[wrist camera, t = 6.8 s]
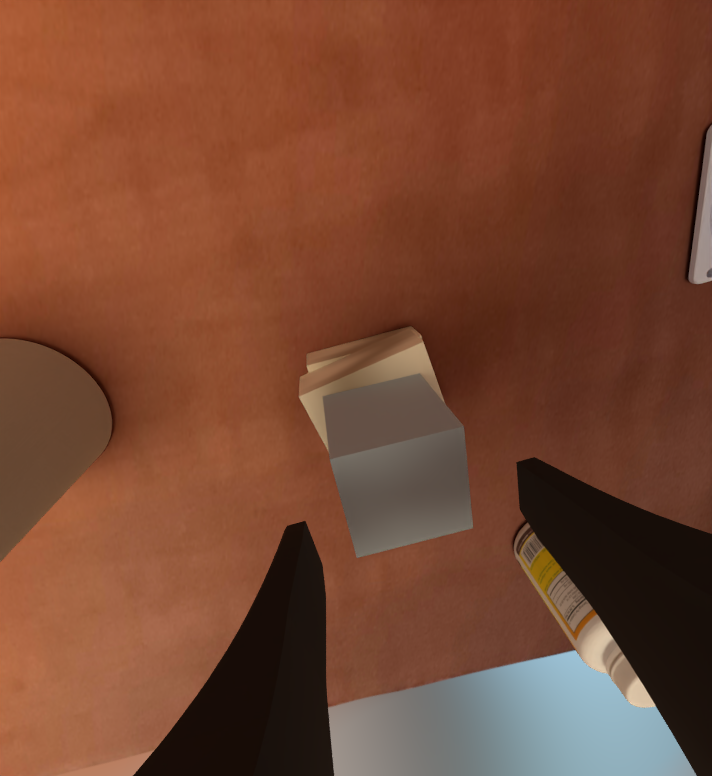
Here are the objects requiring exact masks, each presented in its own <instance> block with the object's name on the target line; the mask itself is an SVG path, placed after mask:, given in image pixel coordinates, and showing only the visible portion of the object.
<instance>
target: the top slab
mask: <svg viewBox="0 0 712 776" xmlns="http://www.w3.org/2000/svg"><path fill="white" fill-rule="evenodd" d="M419 373H420V374H421V375H422V377H423V378H424V379H425V380H426V381H427V383H428V384H429V385H430V386H431V387H432V389H433V390H434V391H435V392H436V393H437V395H438V396H439V397H440V398H441V399H442V401H443V402H444V399H443V396H442V393H441V390H440V388H439V385H438V382H437V379H436V376H435V373H434V371H433V368H432V365H431V362H430V359H429V356H428V354H427V351H426V348H425V345H424V342H423V341H422V340H421V339H420V338H419V337H418V336H417V335H415V334H414V333H413V332H412V331H411V330H410V329H406V330H404V331H402V332H400V333H397V334H395V335H393V336H391V337H388V338H386V339H384V340H382V341H379V342H377V343H375V344H373V345H370V346H368V347H366V348H364V349H361V350H359V351H357V352H355V353H352V354H350V355H348V356H346V357H343V358H341V359H339V360H337V361H334V362H332V363H330V364H328V365H325V366H323V367H321V368H319V369H316V370H314V371H312V372H310V373H307V374H305V375H303V376H301V377H300V383H299V398H300V400H301V402H302V404H303V406H304V407H305V409H306V411H307V413H308V415H309V417H310V418H311V420H312V422H313V424H314V426H315V428H316V429H317V431H318V433H319V435H320V437H321V439H322V440H323V442H324V444H325V446H326V448H327V450H328V451H329V448H328V439H327V431H326V422H325V413H324V404H323V396H326V395H331V394H335V393H339V392H343V391H347V390H352V389H356V388H360V387H364V386H368V385H372V384H377V383H381V382H385V381H389V380H393V379H398V378H402V377H406V376H410V375H414V374H419ZM444 403H445V402H444Z"/></svg>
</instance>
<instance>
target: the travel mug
mask: <svg viewBox="0 0 712 776" xmlns="http://www.w3.org/2000/svg"><path fill="white" fill-rule="evenodd" d="M111 431H112V416H111V411H110V407H109V404H108V402H107V399H106V397H105V395H104V393H103V392H102V390H101V389H100V387H99V386H98V384H97V383H96V382H95V380H94V379H93V378H92V377H91V376H90V375H89V374H88V373H87V372H86V371H85V370H84V369H83V368H81V367H80V366H79V365H78V364H77V363H75V362H74V361H72V360H71V359H69V358H68V357H66V356H64V355H63V354H61V353H59V352H57V351H55V350H53V349H50V348H48V347H45V346H43V345H40V344H37V343H33V342H29V341H24V340H18V339H7V338H6V339H0V562H1V561H2V560H3V559H4V558H5V556H6V555H7V554H8V553H9V552H10V551H11V550H12V549H13V548H14V547H15V546H16V545H17V544H18V543H19V542H20V540H21V539H22V538H23V537H24V536H25V535H26V534H27V533H28V532H29V531H30V530H31V529H32V528H33V527H34V525H35V524H36V523H37V522H38V521H39V520H40V519H41V518H42V517H43V516H44V515H45V514H46V513H47V512H48V510H49V509H50V508H51V507H52V506H53V505H54V504H55V503H56V502H57V501H58V500H59V499H60V498H61V497H62V495H63V494H64V493H65V492H66V491H67V490H68V489H69V488H70V487H71V486H72V485H73V484H74V483H75V482H76V480H77V479H78V478H79V477H80V476H81V475H82V474H83V473H84V472H85V471H86V470H87V469H88V468H89V467H90V465H91V464H92V463H93V462H94V461H95V460H96V459H97V458H98V457H99V456H100V455H101V454H102V452H103V451H104V450H105V448H106V446H107V444H108V442H109V439H110V436H111Z"/></svg>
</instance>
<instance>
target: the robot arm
mask: <svg viewBox="0 0 712 776" xmlns="http://www.w3.org/2000/svg"><path fill="white" fill-rule="evenodd" d="M707 272H708V274H707ZM688 277H689V281H690V282H691V283H694V284H702V283H705V282H709V281H712V125H711V126H710V128H709V129H708V132H707V136H706V144H705V152H704V159H703V167H702V175H701V183H700V191H699V198H698V206H697V214H696V222H695V230H694V237H693V245H692V253H691V261H690V269H689V276H688ZM517 475H518V489H519V504H520V510H521V512H522V514H523V515H524V517H525V519H526V520H527V522H528V524H529V525H530V527H531V528H532V530H533V532H534V533H535V535H536V536H537V538H538V539H539V540H540V542H541V543H542V544H543V546H544V547H545V548H546V549H547V551H548V552H549V553H550V554H551V556H552V557H553V558H554V560H555V561H556V562H557V563H558V565H559V566H560V567H561V568H562V570H563V571H564V572H565V573H566V575H567V576H568V577H569V578H570V580H571V581H572V582H573V583H574V585H575V586H576V587H577V589H578V590H579V591H580V592H581V594H582V595H583V596H584V597H585V599H586V600H587V601H588V603H589V604H590V605H591V607H592V608H593V609H594V611H595V612H596V613H597V615H598V616H599V618H600V619H601V621H602V622H603V624H604V625H605V627H606V628H607V630H608V631H609V633H610V634H611V636H612V637H613V639H614V640H615V642H616V643H617V645H618V646H619V648H620V650H621V651H622V653H623V654H624V656H625V657H626V659H627V661H628V662H629V664H630V665H631V667H632V668H633V670H634V672H635V673H636V675H637V676H638V678H639V679H640V681H641V683H642V684H643V686H644V687H645V689H646V691H647V692H648V694H649V696H650V697H651V699H652V701H653V702H654V704H655V705H656V707H657V709H658V710H659V712H660V714H661V715H662V717H663V719H664V720H665V722H666V724H667V725H668V727H669V729H670V730H671V732H672V733H673V735H674V737H675V739H676V740H677V742H678V744H679V746H680V747H681V749H682V751H683V752H684V754H685V756H686V758H687V759H688V761H689V763H690V765H691V766H692V768H693V770H694V772H695V773H696V775H697V776H712V534H710V533H707V532H704V531H701V530H698V529H695V528H692V527H689V526H686V525H683V524H680V523H677V522H675V521H672V520H669V519H667V518H664V517H661V516H658V515H656V514H653V513H651V512H648V511H646V510H643V509H641V508H638V507H636V506H634V505H632V504H629V503H627V502H625V501H622V500H620V499H618V498H615V497H613V496H611V495H609V494H607V493H605V492H603V491H600V490H598V489H596V488H594V487H592V486H590V485H588V484H586V483H584V482H582V481H580V480H578V479H576V478H574V477H572V476H570V475H568V474H566V473H564V472H562V471H560V470H558V469H557V468H555V467H553V466H551V465H549V464H547V463H545V462H543V461H541V460H539V459H537V458H535V457H534V458H530V459H526V460H523V461H519V462H517ZM133 776H334V770H333V759H332V749H331V739H330V727H329V715H328V703H327V688H326V593H325V583H324V575H323V566H322V562H321V560H320V557H319V555H318V552H317V550H316V547H315V544H314V542H313V539H312V537H311V534H310V532H309V529H308V526H307V524H306V521H303V522H300V523H296V524H292V525H289V526H287V527H286V529H285V531H284V534H283V536H282V539H281V541H280V544H279V547H278V549H277V552H276V554H275V556H274V559H273V561H272V564H271V566H270V568H269V570H268V573H267V575H266V577H265V579H264V582H263V584H262V586H261V588H260V590H259V592H258V594H257V596H256V598H255V600H254V602H253V604H252V606H251V608H250V610H249V612H248V614H247V616H246V618H245V620H244V622H243V623H242V625H241V627H240V629H239V631H238V632H237V634H236V636H235V637H234V639H233V641H232V642H231V644H230V646H229V648H228V649H227V651H226V652H225V654H224V656H223V657H222V659H221V660H220V662H219V663H218V665H217V666H216V668H215V669H214V671H213V673H212V674H211V676H210V677H209V679H208V680H207V682H206V683H205V685H204V686H203V687H202V689H201V690H200V692H199V693H198V695H197V696H196V697H195V699H194V700H193V701H192V703H191V704H190V705H189V707H188V708H187V709H186V711H185V712H184V713H183V715H182V716H181V717H180V719H179V720H178V721H177V723H176V724H175V725H174V727H173V728H172V729H171V731H170V732H169V733H168V735H167V736H166V737H165V738H164V740H163V741H162V742H161V743H160V745H159V746H158V747H157V748H156V749H155V751H154V752H153V753H152V754H151V755H150V756H149V758H148V759H147V760H146V761H145V762H144V764H143V765H142V766H141V767H140V768H139V769H138V771H137V772H136V773H135V774H134V775H133Z"/></svg>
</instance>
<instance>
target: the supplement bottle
mask: <svg viewBox="0 0 712 776" xmlns="http://www.w3.org/2000/svg"><path fill="white" fill-rule="evenodd" d="M514 553H515V557H516V559H517V561H518V562H519V564H520V566H521V567H522V569H523V570H524V572H525V573H526V575H527V576H528V578H529V579H530V581H531V582H532V584H533V585H534V587H535V588H536V590H537V592H538V593H539V594H540V596H541V598H542V599H543V601H544V602H545V604H546V605H547V607H548V608H549V610H550V611H551V613H552V614H553V616H554V617H555V619H556V621H557V622H558V624H559V625H560V627H561V628H562V630H563V631H564V633H565V634H566V636H567V637H568V639H569V641H570V642H571V644H572V645H573V647H574V648H575V650H576V651H577V653H578V654H579V656H580V657H581V659H582V660H583V661H584V662H585V663H586V664H587V665H588V666H589V667H591V668H593V669H594V670H597V671H599V672H602V673H608V674H609V676H610V677H611V679H612V681H613V682H614V683H615V684H616V685H617V687H618V688H619V689H620V691H621V692H622V694H623V695H624V696H625V698H626V699H627V701H629V703H631V704H632V705H634V706H636V707H654V706H656V705H655V704H654V702H653V701H652V699H651V697H650V696H649V694H648V692H647V691H646V689H645V687H644V686H643V684H642V683H641V681H640V679H639V678H638V676H637V675H636V673H635V672H634V670H633V668H632V667H631V665H630V664H629V662H628V661H627V659H626V657H625V656H624V654H623V653H622V651H621V650H620V648H619V646H618V645H617V643H616V642H615V640H614V639H613V637H612V636H611V634H610V633H609V631H608V630H607V628H606V627H605V625H604V624H603V622H602V621H601V619H600V618H599V616H598V615H597V613H596V612H595V611H594V609H593V608H592V607H591V605H590V604H589V603H588V601H587V600H586V599H585V597H584V596H583V595H582V594H581V592H580V591H579V590H578V589H577V587H576V586H575V585H574V583H573V582H572V581H571V580H570V578H569V577H568V576H567V575H566V573H565V572H564V571H563V570H562V568H561V567H560V566H559V565H558V563H557V562H556V561H555V560H554V558H553V557H552V556H551V554H550V553H549V552H548V551H547V549H546V548H545V547H544V546H543V544H542V543H541V542H540V540H539V539H538V538H537V536H536V535H535V533H534V532H533V530H532V528H531V527H530V525H529V524H528V523H526V524H525V525H524V526H523V528H522V529H521V530H520V531H519V533H518V535H517V537H516V539H515V542H514Z"/></svg>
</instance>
